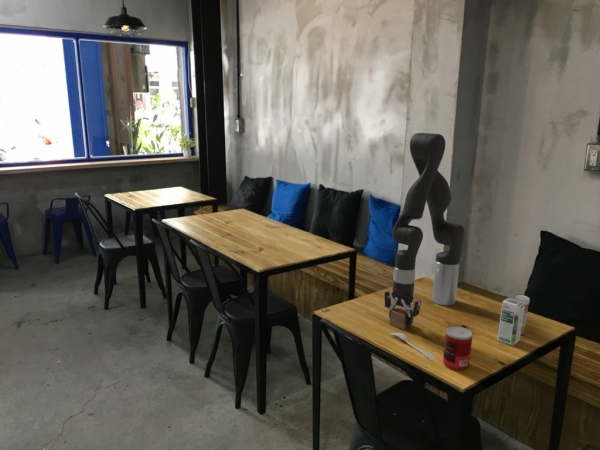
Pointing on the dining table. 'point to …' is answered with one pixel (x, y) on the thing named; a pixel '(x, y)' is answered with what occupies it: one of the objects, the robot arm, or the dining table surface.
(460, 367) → the canned food
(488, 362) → the dining table surface
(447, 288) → the robot arm
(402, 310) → the walnut cube
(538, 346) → the dining table surface
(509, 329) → the syrup box
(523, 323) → the sprinkles bottle
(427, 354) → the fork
